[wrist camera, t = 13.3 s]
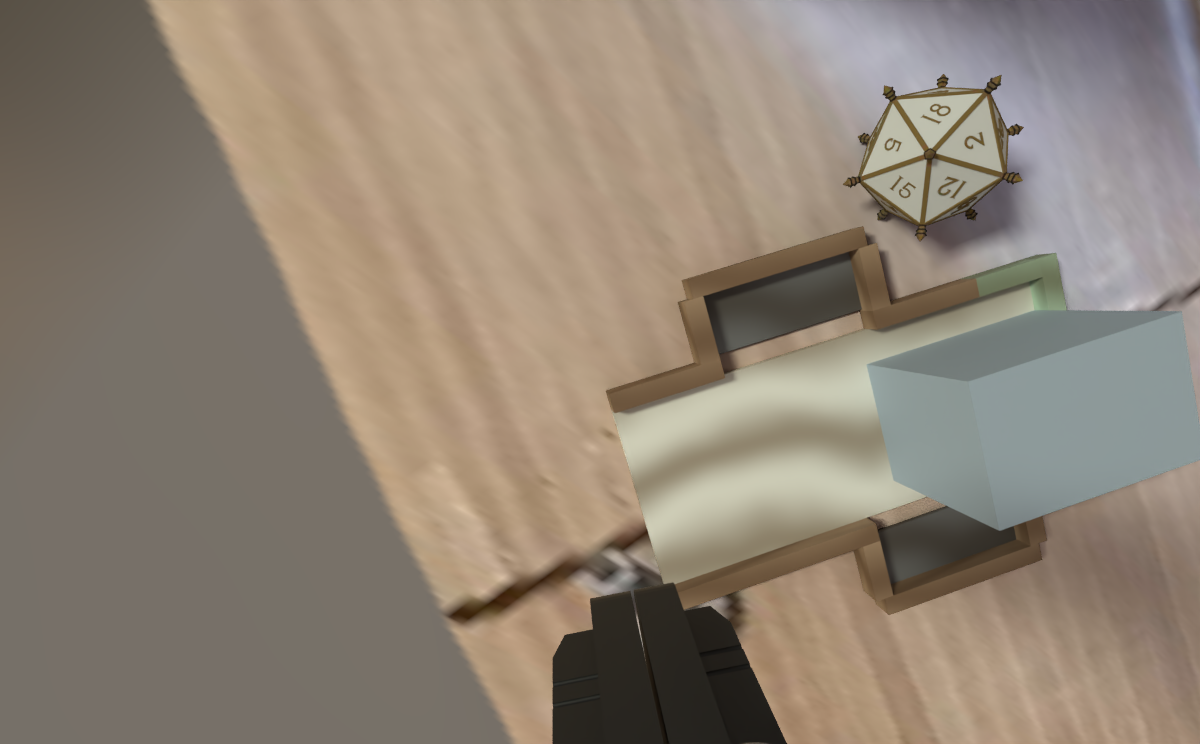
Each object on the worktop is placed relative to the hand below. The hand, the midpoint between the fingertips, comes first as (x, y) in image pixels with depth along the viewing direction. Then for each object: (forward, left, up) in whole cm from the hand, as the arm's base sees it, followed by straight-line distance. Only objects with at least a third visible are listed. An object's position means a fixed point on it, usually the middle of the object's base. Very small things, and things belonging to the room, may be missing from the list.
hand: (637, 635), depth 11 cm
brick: (+8, +25, -26) cm, 37 cm away
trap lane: (+7, +17, -27) cm, 32 cm away
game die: (-8, +24, -27) cm, 37 cm away
